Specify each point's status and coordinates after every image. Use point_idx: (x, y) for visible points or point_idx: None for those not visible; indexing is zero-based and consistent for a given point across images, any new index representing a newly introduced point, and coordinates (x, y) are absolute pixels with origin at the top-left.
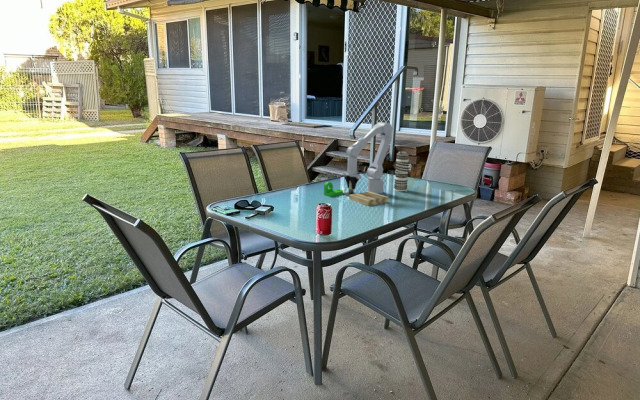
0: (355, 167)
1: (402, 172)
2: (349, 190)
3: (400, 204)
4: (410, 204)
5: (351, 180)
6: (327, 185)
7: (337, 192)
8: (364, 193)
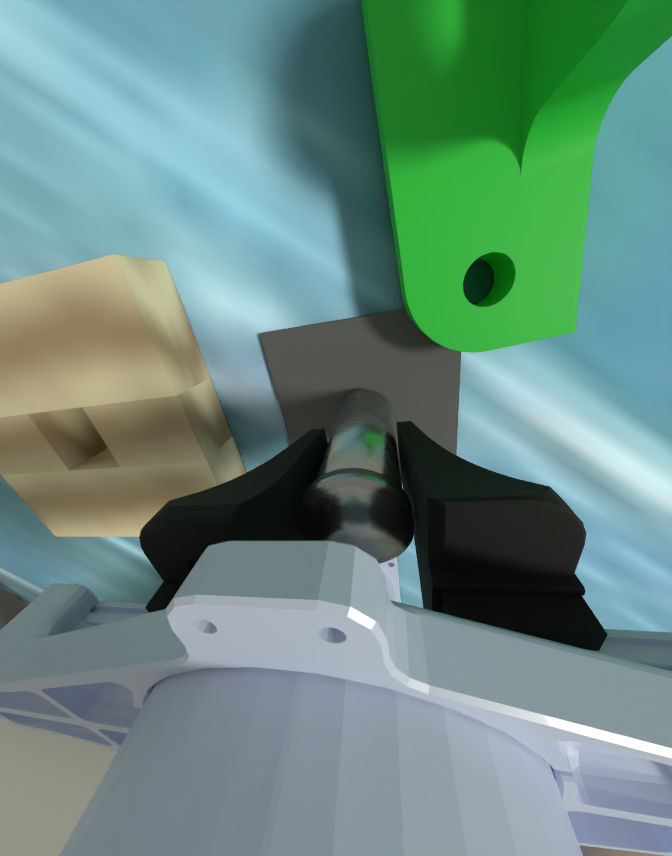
0: None
1: None
2: (357, 405)
3: (44, 528)
4: (53, 561)
5: (235, 490)
6: None
7: (391, 186)
8: (172, 461)
